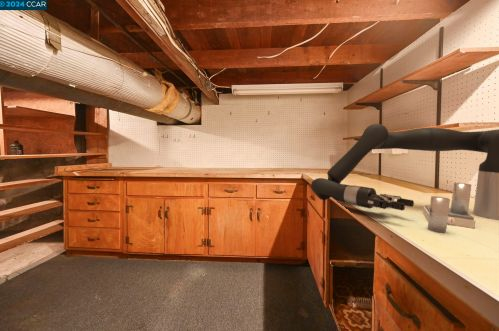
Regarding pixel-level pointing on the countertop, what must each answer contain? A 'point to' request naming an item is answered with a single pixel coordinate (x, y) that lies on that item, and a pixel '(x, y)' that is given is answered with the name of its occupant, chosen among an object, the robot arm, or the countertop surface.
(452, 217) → the scale
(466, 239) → the countertop surface
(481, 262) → the countertop surface
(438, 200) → the cylinder
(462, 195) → the cylinder
